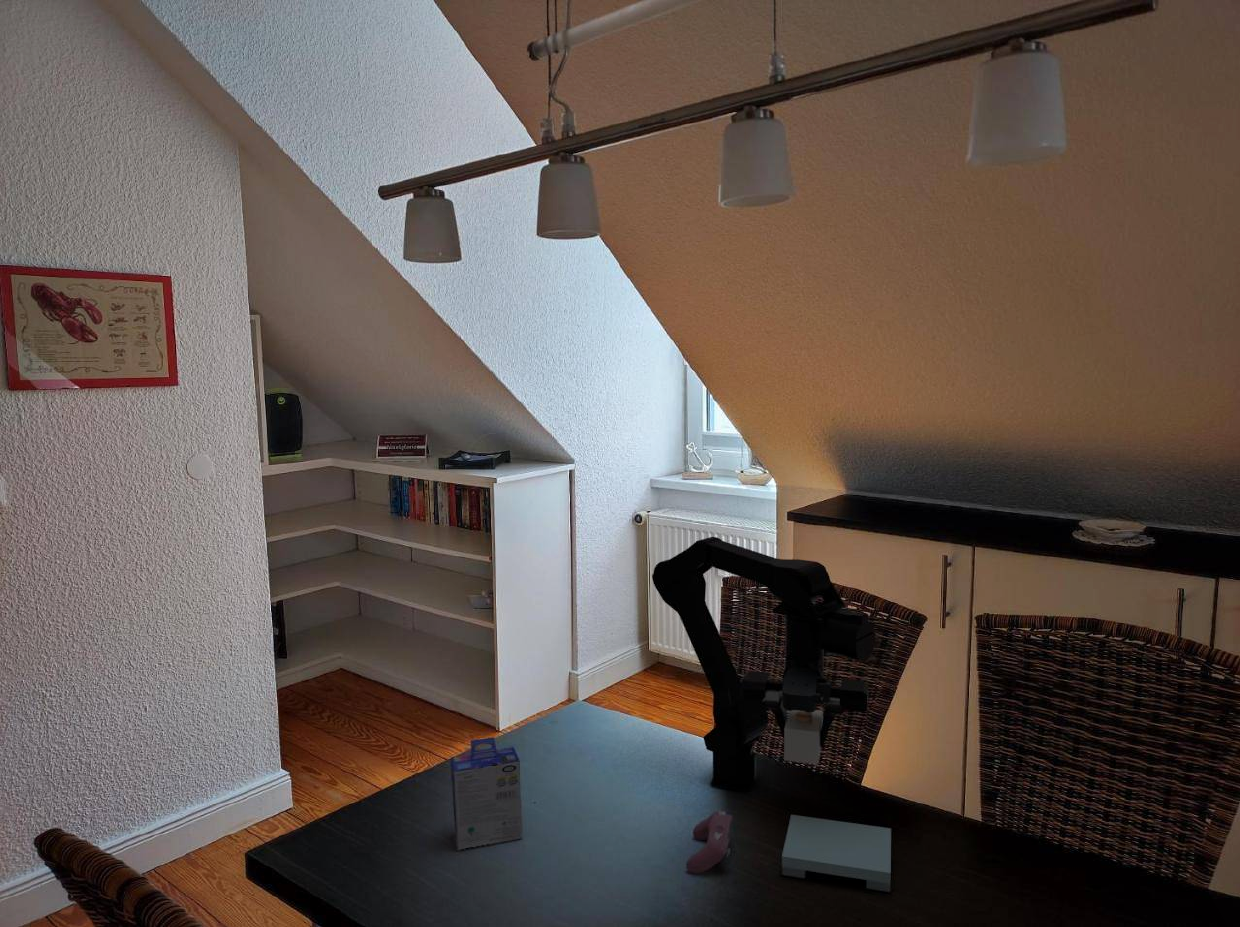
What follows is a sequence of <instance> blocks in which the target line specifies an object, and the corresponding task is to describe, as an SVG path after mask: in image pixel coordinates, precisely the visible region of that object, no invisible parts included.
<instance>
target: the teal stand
mask: <svg viewBox="0 0 1240 927" xmlns="http://www.w3.org/2000/svg"><path fill="white" fill-rule="evenodd" d="M891 859H892V828H889V827H883V826H875V825H869V824H862V823H861V824H860V823H853V822H846V821H840V820H839V821H838V820H832V819H826V818H818V817H811V816H803V815H798V814H791V815H790V818H789V824H788V827H787V832H786V836H785V841H784V845H783V849H782V854H781V869H782V870H781V871H782V872H781V874H782V876H788V877H795V878H800V879H805V878H806V873H807V872H813V873H820V874H826V875H833V876H839V877H840V876H841V877H846V878H852V879H856V880H857V879H859V880H863V881H866V884H865V886H866V887H865V888H866V889H867V890H869V889H870V890H875V891H880V892H881V891H882V892H888V893H891V877H892V876H891V875H892V874H891V872H892V871H891V870H892V869H891V866H892V864H891V862H892V860H891Z"/></svg>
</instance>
